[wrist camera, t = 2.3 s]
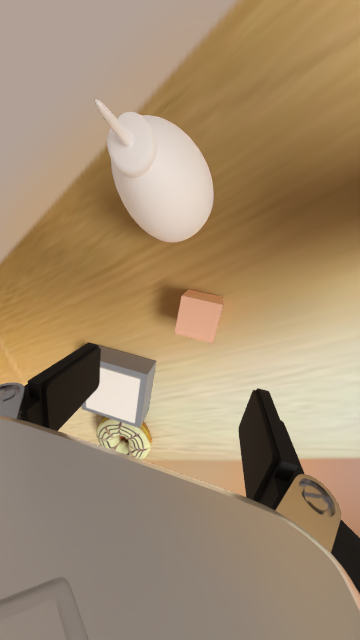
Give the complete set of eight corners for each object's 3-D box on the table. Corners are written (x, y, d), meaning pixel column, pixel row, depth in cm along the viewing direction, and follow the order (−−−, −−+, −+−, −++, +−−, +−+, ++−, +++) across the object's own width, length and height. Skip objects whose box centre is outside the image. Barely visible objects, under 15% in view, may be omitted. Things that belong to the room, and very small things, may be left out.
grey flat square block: (97, 344, 33) (80, 356, 29) (156, 361, 31) (146, 375, 27) (95, 393, 37) (80, 410, 33) (148, 410, 35) (139, 429, 31)
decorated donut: (129, 454, 41) (120, 472, 37) (96, 419, 39) (83, 435, 36) (163, 438, 37) (157, 457, 33) (128, 399, 36) (118, 414, 32)
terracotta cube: (188, 289, 27) (181, 295, 22) (222, 296, 26) (223, 305, 21) (182, 321, 28) (174, 333, 24) (214, 329, 28) (212, 343, 23)
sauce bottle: (227, 217, 23) (245, 103, 6) (177, 257, 26) (97, 254, 9) (190, 159, 22) (92, -166, 5) (142, 207, 25) (-24, 97, 8)
